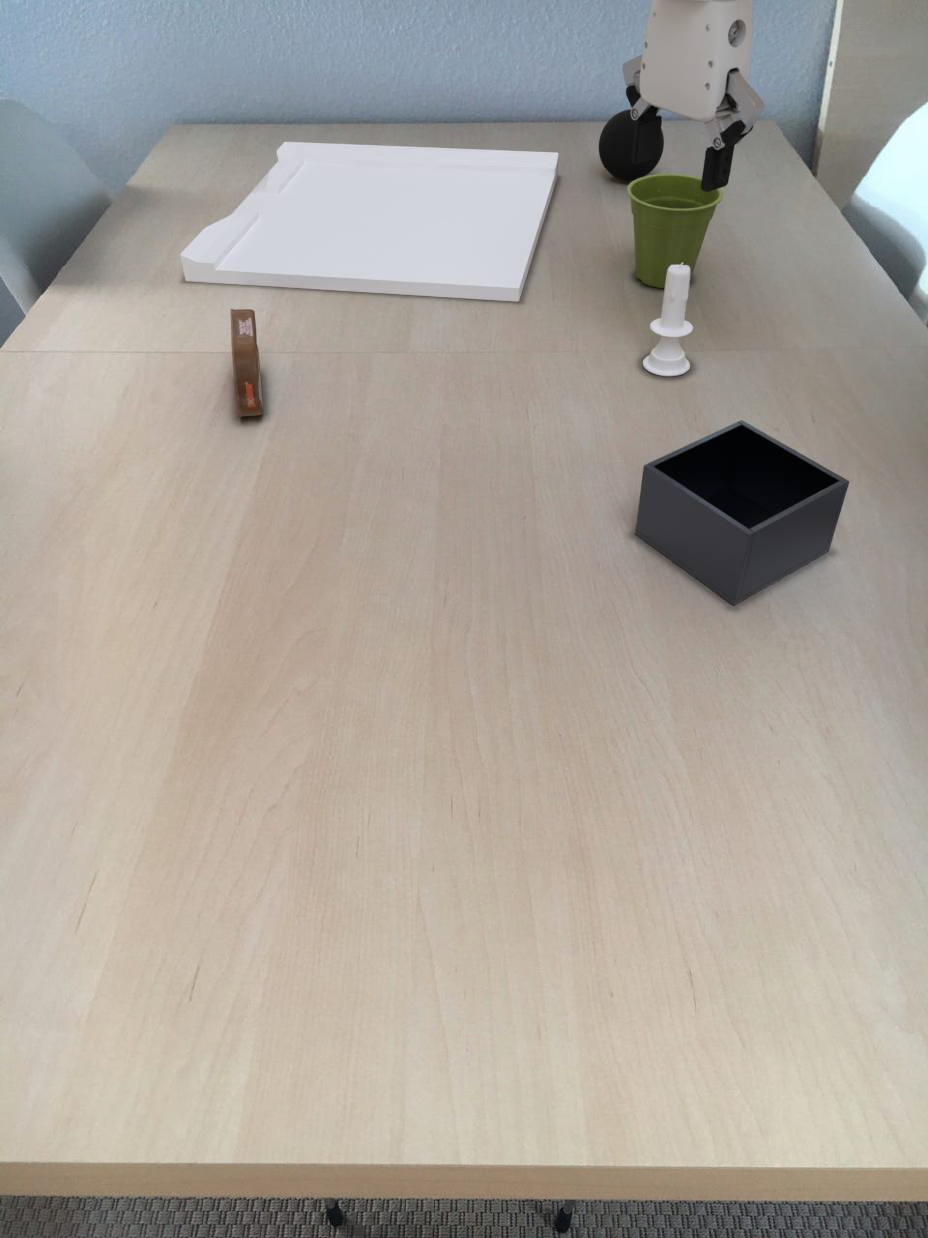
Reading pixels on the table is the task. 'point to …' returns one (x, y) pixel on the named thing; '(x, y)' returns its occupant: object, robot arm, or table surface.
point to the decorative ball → (623, 148)
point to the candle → (671, 326)
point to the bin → (739, 509)
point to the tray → (384, 222)
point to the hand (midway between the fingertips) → (678, 173)
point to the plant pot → (669, 223)
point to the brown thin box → (246, 363)
